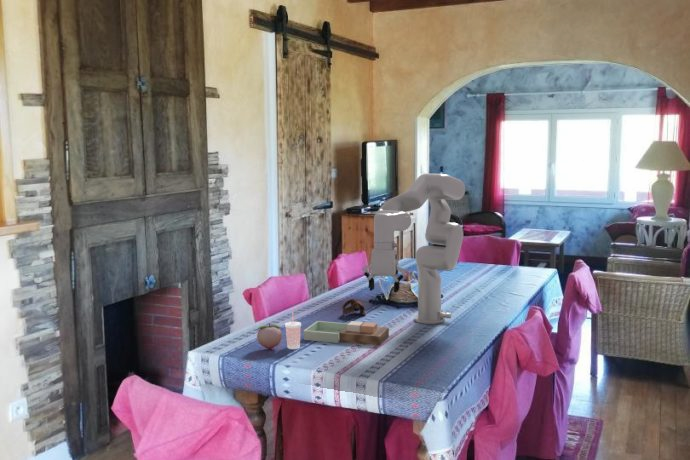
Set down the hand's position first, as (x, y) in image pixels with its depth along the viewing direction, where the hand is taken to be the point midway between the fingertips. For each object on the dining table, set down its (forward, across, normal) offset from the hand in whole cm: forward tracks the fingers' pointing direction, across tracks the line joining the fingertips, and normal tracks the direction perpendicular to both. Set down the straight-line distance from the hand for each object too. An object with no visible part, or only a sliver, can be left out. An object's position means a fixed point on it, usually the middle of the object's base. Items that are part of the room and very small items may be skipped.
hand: (384, 290), depth 256 cm
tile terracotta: (+16, +6, +1) cm, 17 cm away
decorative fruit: (+20, +35, +25) cm, 47 cm away
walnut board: (+19, +8, +2) cm, 21 cm away
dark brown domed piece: (+19, +24, -31) cm, 44 cm away
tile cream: (+16, +11, +2) cm, 19 cm away
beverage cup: (+20, +28, +20) cm, 40 cm away
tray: (+19, +22, +2) cm, 30 cm away
